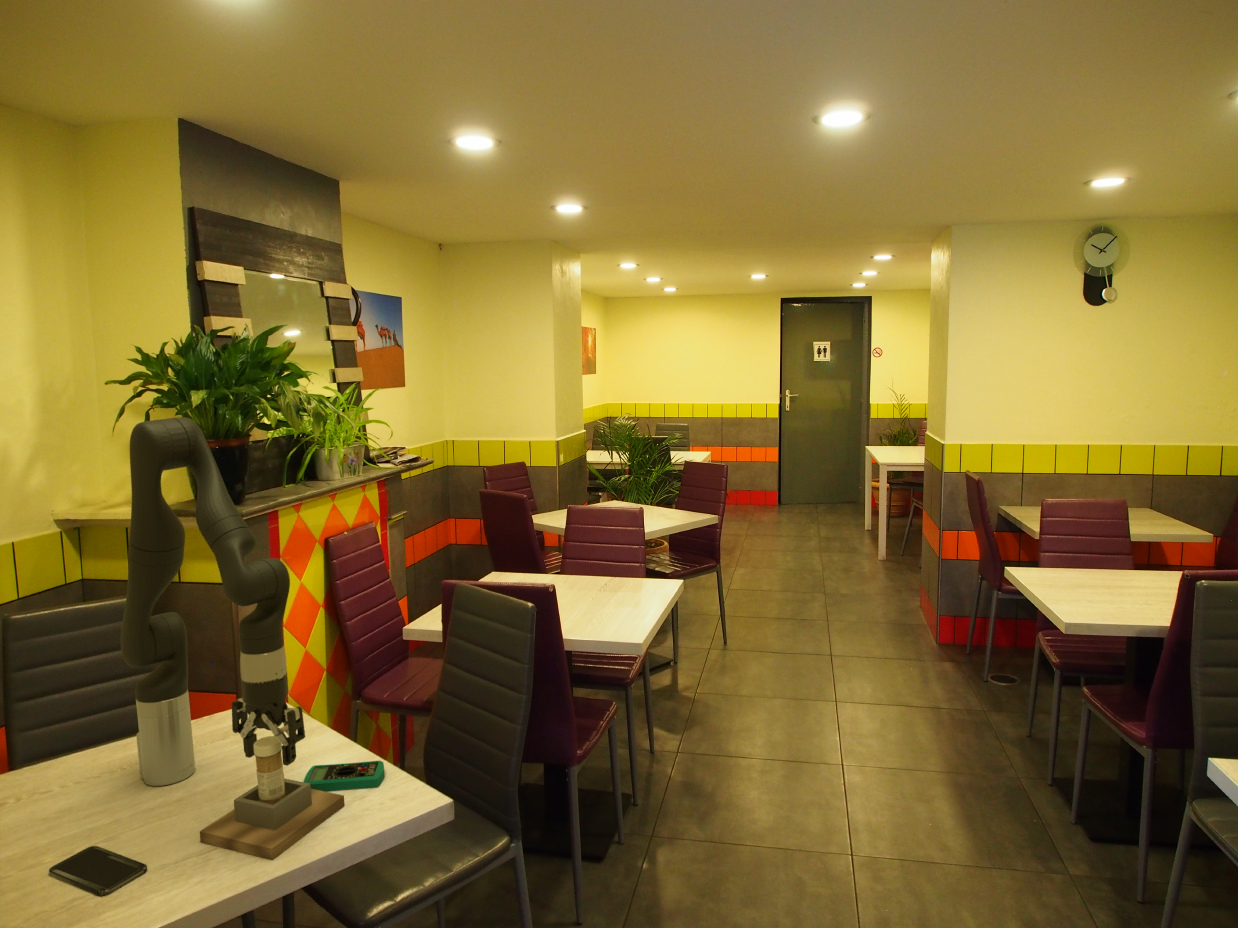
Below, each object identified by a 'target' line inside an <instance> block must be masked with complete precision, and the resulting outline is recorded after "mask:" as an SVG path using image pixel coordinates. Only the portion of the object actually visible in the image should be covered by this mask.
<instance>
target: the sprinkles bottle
mask: <svg viewBox="0 0 1238 928" xmlns="http://www.w3.org/2000/svg"><path fill="white" fill-rule="evenodd" d="M282 746H283V744H282V743H281V741H280V739H279V738H278V737H277V736H274V735H268V736H264V737H261V738H259V739H257V741H256V742H255V743H254V754H255V755H254V756H255V764H256V778H257V785H258V791H259V798H260V802H263V803H267V804H272V805H274V804H275V803H277V802H278V801H280V800H281V799H283V798H284V797H285V781H284V778H285V774H284V768H283V767H284V766H283V758H282Z"/></svg>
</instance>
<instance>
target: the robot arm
mask: <svg viewBox="0 0 1238 928" xmlns="http://www.w3.org/2000/svg"><path fill="white" fill-rule="evenodd" d="M129 438H130V439H129V464H130V465H129V468H130V469H129V471H130V483H131V484H130V487H131V488H130V489H131V507H130V508H131V511H130V512H131V513H130V525H129V526H130V527H129V539H128V551H127V552H128V555H127V556H128V557H127V559H128V560H127V561H128V562H127V563H128V565H127V568H128V569H127V589H126V590H127V591H126V598H125V605H124V610H123V616H122V617H123V618H122V623H121V630H120V650H121V656H122V659H123V661H124V663H126V665H128V666H129V667H131V668H140V667H146V666H151V665H154V664H158V663H159V665H158V666H157V667H156V668H155V669H154V670H153V671H152V672H151V673H149V674H147V675H146V676H145V677H143V678H141V679H140V680H139V681H138V682H137V683H136V684H135V688H134V693H135V704H136V706H135V707H136V713H137V722H138V723H137V724H138V732H137V733H136V736H135V737H136V745H137V754H138V755H137V756H138V758H137V759H138V765H139V774H140V776H139V777H140V779H142V780H143V782H144V783H145V784H146V785H148V786H155V787H159V786H160V787H161V786H162V787H163V786H167V785H173V784H175V783H176V784H177V783H179V782H181V781H184V780H186V779H187V778H189V777H190V776H192V775H193V774H194V773H195V770H196V762H195V750H194V740H193V739H194V738H193V727H192V719H191V718H192V717H191V706H190V695H189V685H188V680H189V663H188V661H189V659H188V636H187V635H188V634H187V627H186V625H185V622H184V620H183V618H182V616H181V615H179V613H177V612H175V611H167V612H165V613H161V614H160V613H159V614H155V615H152V612H153V609H154V607H155V605H156V603H157V601H158V599H160V596H161V595H162V594H163V593H164V592H165V590H166V589H167V588H168V587H169V585H170V584H171V583H172V581H173V580H174V579H175V577H176V576H177V574H178V572H179V571H180V569H181V567H182V565H183V562H184V556H185V546H186V545H185V543H186V531H185V528H184V525H183V523H182V522H181V520H180V518H179V516H177V514H176V512H175V511H173V509H172V508H171V507H170V505H169V504H168V503H167V501H166V499H165V497H164V496H163V491H162V475H163V472H164V471H170V470H175V469H182V468H187V469H188V470H189V471H190V472H191V473H192V475H193V477H194V479H195V481H196V484H197V485H196V486H197V494H196V504H195V520H196V521H195V522H196V524H197V527H198V529H199V532H200V533H201V536H202V538H203V539H204V541H205V542H206V544H207V545H208V547H209V549H211V551H212V552H213V554H214V557H215V560H216V564H217V568H218V571H219V575H220V579H221V584H222V588H223V591H224V593H225V596H226V597H227V598H228V600H230V601H231V602H232V603H233V604H235V605H237V606H239V607H249V606H252V605H255V604H256V607H255V609H253V611H251V612H250V613H249V614H248V615H246V616H244V617H243V618H242V619H241V620H240V622H239V623H238V636H239V649H240V656H239V657H240V658H239V670H240V671H239V673H240V684H241V694H242V695H241V697H240V698H237V699H236V700H234V701H232V702H231V721H232V722H231V723H232V724H231V726H232V728H231V729H232V733H235V734H239V735H240V738H242V744H243V752H244V755H245V757H246V758H252V757H254V756H255V754H254V743H255V742H256V741H257V740H258V737H257V736H258V733H255V732H256V731H257V730H258V729H259V730H260V729H264V730H265V731H266V730H267V731H271V732H272V733H271V734H273V736H277V737H278V738H279V739H280V741H281V743H282V751H281V756H282V764H283V765H284V766H289V765H291V764H292V763H294V762H295V760H296V758H297V749H296V748H297V745H296V744H297V743H298V742H300V741H302V740H303V739H305V738H306V729H305V724H304V723H305V722H304V715H303V708H302V707H301V706H299V705H298V706H296V707H289V706H288V704H287V701H286V700H287V697H288V695H289V691H290V690H289V680H288V666H287V655H286V649H285V645H284V644H285V643H284V628H283V620H284V616H285V612H286V607H287V603H288V599H289V593H290V587H291V581H290V580H291V579H290V573H289V571H288V568H287V567H286V564H284V563H283V561H281V560H280V559H278V558H275V557H269V558H264V559H263V558H262V559H261V560H260V559H259V560H255V561H252V562H249V563H246V562H245V560H244V558H245V557H247V556H248V555H249V554H251V553H252V552H253V551H254V549H255V547H256V546H257V545H256V544H257V542H256V541H257V540H256V538H255V535H254V534H253V531H252V530H251V529H250V528H249V526H248V524H247V523H246V521H245V519H244V518H243V516H242V515H241V513H240V512H239V510H238V508H237V507H236V504H234V502H233V499H232V498H231V496H230V494H229V492H228V489H227V487H226V484H225V482H224V479H223V476H222V475H221V472H220V469H219V467H218V464H217V462H216V459H215V457H214V456H213V453H212V450H211V448H210V446H209V444H208V441H207V439H206V437H205V434H204V432H203V431H202V429H201V428H200V426H199V425H198V424H197V423H196V422H195V421H194V420H193V419H192V418H189V417H180V416H179V417H178V416H177V417H171V418H169V417H168V418H162V419H161V418H160V419H154V420H151V419H150V420H145V421H142V422H139V423H137V424H135V425H134V427H133V428H132V431H131V433H130V437H129ZM282 724H283V726H282V727H280V726H281V725H282ZM285 733H286V734H287V735H286V734H285ZM287 736H288V737H287Z"/></svg>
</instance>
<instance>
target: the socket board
mask: <svg viewBox="0 0 1238 928" xmlns="http://www.w3.org/2000/svg"><path fill="white" fill-rule="evenodd" d="M311 798H312V805H310V806H309V807H308V808H306V809H305V810H303V811H302V812H301V813H299V814H298V815H296V816H295V817H294V818H292V819H291V820H289V821H288V822H287V823H285V824H284V825H282V826H281V827H280V828H278V829H277V830H271V829H267V828H262V827H258V826H254V825H249V824H245V823H241V822H236V821H235V809H234V808H233V809H231V811H228V812H227V813H226V814H224V815H223V816H221V817H220V818H218V819H217V820H215V821H213V822H211V823H210V824H208V825H207V826H205V827H204V828H202V829H201V830H199V838H200V839H199V840H200V843H202V844H207V845H211V846H214V847H215V846H216V847H219V848H223V849H225V850H231V851H235V852H239V853H243V854H245V855H246V854H247V855H250V856H251V855H252V856H256V857H259V858H263V859H267V860H270V861H271V860H272V861H273V860H275V859H276V858H277V857H279V855H281V854H283V853H284V852H285V851H287V850H288V849H289V848H290V847H292V846H293V845H294V844H296V843H297V842H298V841H299V840H301V839H302V838H304V837H305V836H306V835H308V834H309V833H311V831H313V830H314V829H316V828H317V827H318V826H320V825H321V824H322V823H323V822H325V821H326V820H327V819H329V818H330V817H332V816H333V815H334V814H335V813H337V812H338V811H339V810H341V809H342V808H343V807H344V806H345V795H343V794H339V793H333V792H331V791H320V790H315V789H311Z"/></svg>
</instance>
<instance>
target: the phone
mask: <svg viewBox="0 0 1238 928" xmlns="http://www.w3.org/2000/svg"><path fill="white" fill-rule="evenodd" d="M147 872H148V865H147V864H146V863H143V862H141V861H138V860H136V859H133V858H129V857H128V856H125V855H122V854H120V853H116V852H115V851H111V850H109V849H107V848H106V849H105V848H104V847H102V846H98V845H92V846H91V845H90V846H88V847H86V848H85V849H83V850H81V851H79V852H77V853H75V854H73V855H71V856H69V857H67V858H66V859H64V860H62V861H59V862H58V863H56V864H53V865H52V866H51V867H50V868H49V869H48V873H49V876H51V877H52V878H54V879H57V880H60V881H62V882H64V883H66V884H69V885H71V886H74V887H76V888H78V889H80V890H84V891H86V892H88V893H91V894H93V895H95V896H98V897H107V896H110V895H112V894H113V893H114V892H116V891H118V890H120V889H122V888H123V887H125V886H126V885H128V884H130V883H131V882H133V881H134V880H136V879H138V878H140V877H142V876H143V875H145V874H146V873H147Z"/></svg>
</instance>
